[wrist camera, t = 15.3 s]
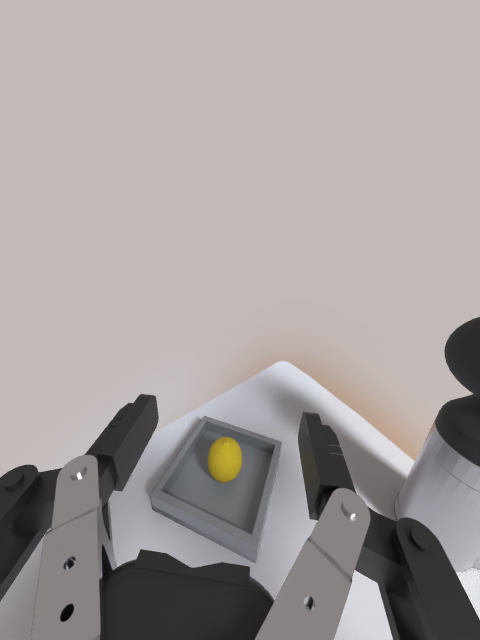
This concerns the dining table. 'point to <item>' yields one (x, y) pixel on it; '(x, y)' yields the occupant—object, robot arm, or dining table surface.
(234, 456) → the lemon
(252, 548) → the tray
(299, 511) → the dining table surface
